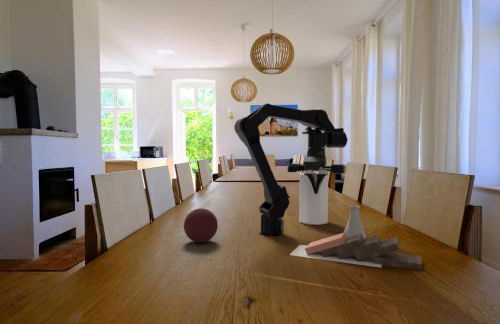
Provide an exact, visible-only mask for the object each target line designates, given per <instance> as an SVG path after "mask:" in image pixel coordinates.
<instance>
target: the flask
mask: <svg viewBox="0 0 500 324" xmlns="http://www.w3.org/2000/svg"><path fill="white" fill-rule="evenodd" d="M349 208H350V209H349V216H348V217H349V218H348V220H347V223H346V226H345V228H344V230H343V233H344V232H345V233H346V236H347V238H349V237H352V236H356V235H359V234H362V236H363V238H364V239H368V237H367V235H366V232H365V228H364V226H363V224H362V220H361V216H360V209H361V206H360V205H356V204H352V205H351V204H350V205H349Z"/></svg>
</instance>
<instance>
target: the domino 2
mask: <svg viewBox="0 0 500 324" xmlns="http://www.w3.org/2000/svg"><path fill="white" fill-rule="evenodd" d="M363 241H364V238H363V236H362V234H359V235H356V236H352V237H349V238H347V240H346V241H345V243H344V244H342V245H339V246H335V247H332V248H328V249H325V250H321V253H322V255H323V257H324V256H328V255H331V254H335V253H338V252H342V251H345V250H349V249H352V248H356V247H359V246H362V244H363Z"/></svg>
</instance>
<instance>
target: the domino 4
mask: <svg viewBox="0 0 500 324" xmlns="http://www.w3.org/2000/svg"><path fill="white" fill-rule="evenodd" d="M396 251H400V241H399V239H398V236H395V237H392V238H388V239H385V240H381V246H380V248H377V249H374V250H370V251H367V252H363V253H360V254H356V255H355V256H356V259H357V261H360V260H364V259H368V258H371V257H375V256H379V255H382V254H386V253H389V252H396Z"/></svg>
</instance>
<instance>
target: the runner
mask: <svg viewBox="0 0 500 324" xmlns="http://www.w3.org/2000/svg"><path fill="white" fill-rule="evenodd" d="M307 246H308V245H306V244H299V245H298V246H297V247H296V248H295V249H294V250H293V251H291V253H290V254H289V256H293V257H294V256H295V257H299V258H300V257H301V258H308V259H314V260H315V259H316V260H324V261H331V262H337V263H344V264H345V263H346V264H352V265H361V266H367V267H374V268H382V266H383V265H381V264H375V263H374V257H371V258H368V259H364V260H360V261H357V259H356V256H355V255H353V256H349V257H346V258H342V259H340V258H339V255H338V253H335V254H331V255H328V256H324V257H323V255H322V253H321V251H318V252H315V253H311V254H308V255H307V253H306V251H305V248H306V247H307Z"/></svg>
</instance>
